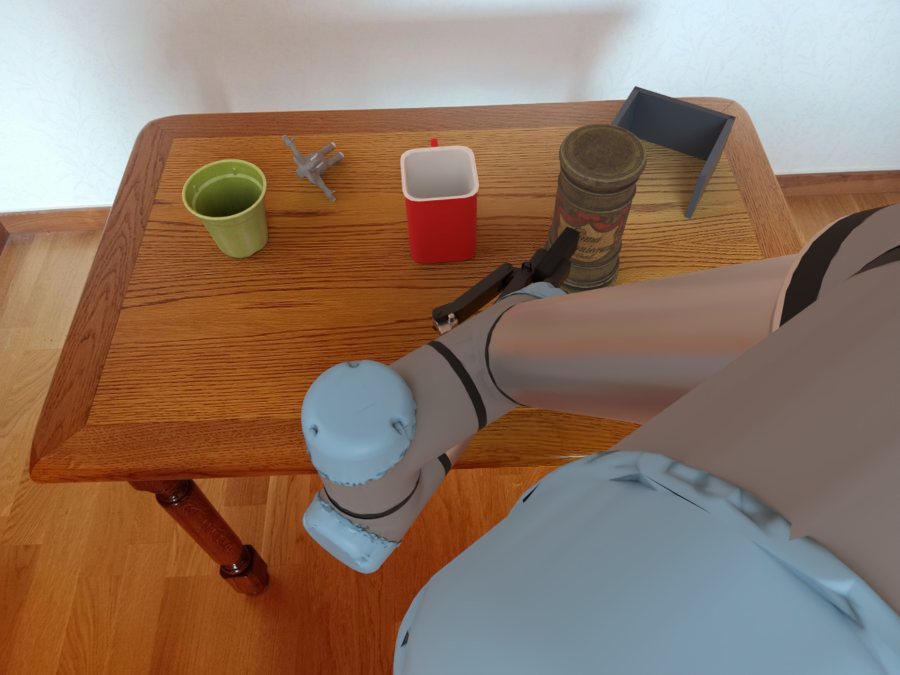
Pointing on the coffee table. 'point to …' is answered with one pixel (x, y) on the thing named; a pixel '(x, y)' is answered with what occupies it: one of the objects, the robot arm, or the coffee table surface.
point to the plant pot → (230, 205)
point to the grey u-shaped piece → (678, 130)
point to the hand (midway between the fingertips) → (571, 238)
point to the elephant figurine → (314, 164)
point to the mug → (440, 202)
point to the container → (596, 200)
